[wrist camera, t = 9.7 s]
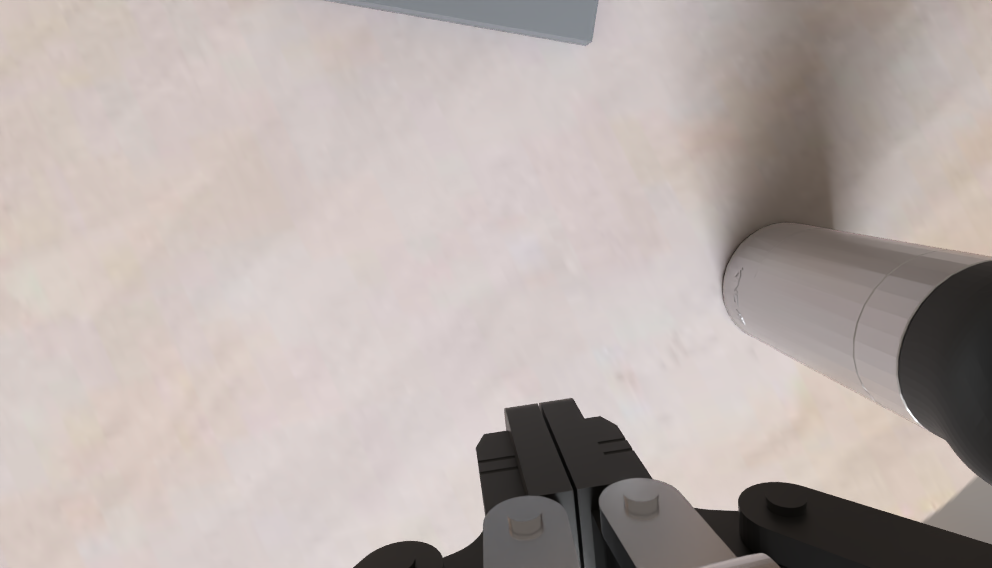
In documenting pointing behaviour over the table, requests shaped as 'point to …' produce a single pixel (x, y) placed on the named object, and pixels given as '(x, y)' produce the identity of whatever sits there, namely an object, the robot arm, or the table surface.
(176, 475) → the table surface
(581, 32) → the hole plate
